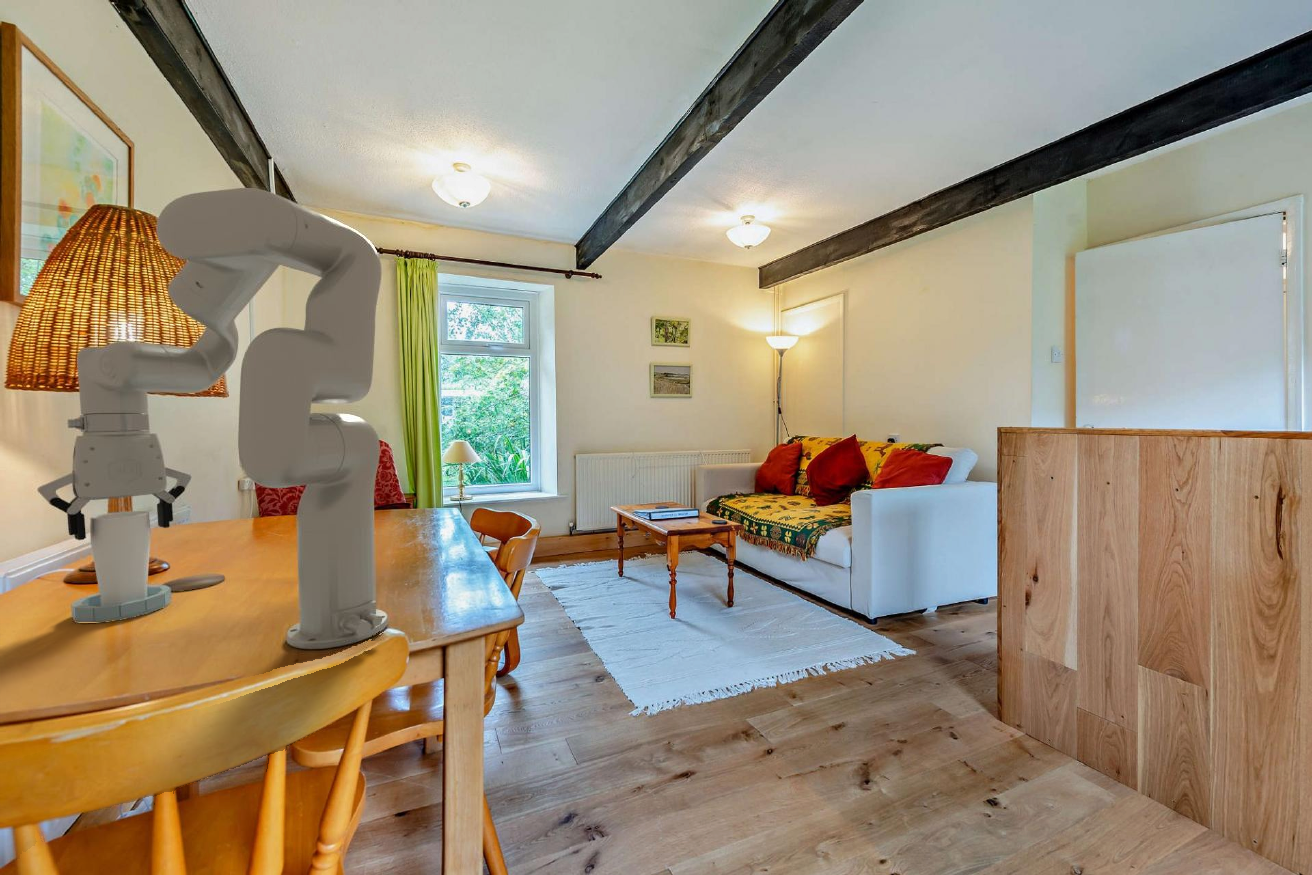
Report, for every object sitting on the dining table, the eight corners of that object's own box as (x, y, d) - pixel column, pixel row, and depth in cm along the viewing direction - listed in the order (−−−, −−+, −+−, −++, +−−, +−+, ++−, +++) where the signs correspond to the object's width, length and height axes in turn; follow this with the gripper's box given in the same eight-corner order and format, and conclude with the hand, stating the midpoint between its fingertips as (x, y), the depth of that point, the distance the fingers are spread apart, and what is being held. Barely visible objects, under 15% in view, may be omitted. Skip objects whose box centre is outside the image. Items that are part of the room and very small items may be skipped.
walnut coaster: (232, 581, 100) (232, 579, 100) (169, 595, 93) (169, 592, 93) (214, 573, 105) (214, 571, 105) (154, 585, 98) (154, 583, 98)
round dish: (179, 606, 87) (179, 592, 87) (82, 629, 78) (81, 613, 78) (158, 594, 93) (158, 581, 93) (66, 614, 84) (65, 599, 84)
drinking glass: (83, 612, 83) (78, 517, 83) (136, 597, 90) (132, 509, 89) (111, 616, 81) (107, 519, 81) (164, 601, 88) (160, 511, 87)
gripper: (38, 427, 75) (47, 547, 75) (194, 423, 89) (200, 524, 90) (28, 428, 79) (37, 541, 80) (179, 425, 93) (185, 521, 94)
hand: (124, 532), depth 85 cm, fingers open, 9 cm apart
